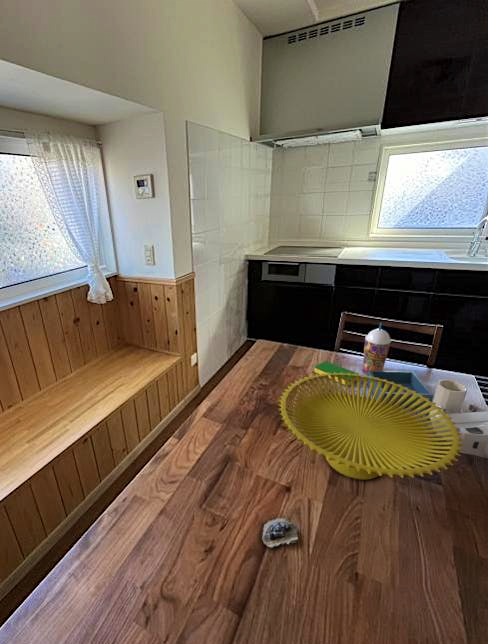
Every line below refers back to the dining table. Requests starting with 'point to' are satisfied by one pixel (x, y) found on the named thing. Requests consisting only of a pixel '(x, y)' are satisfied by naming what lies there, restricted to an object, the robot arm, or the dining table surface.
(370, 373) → the basin
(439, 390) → the cup
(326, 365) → the dish sponge
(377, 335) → the smoothie
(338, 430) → the yellow slatted bowl
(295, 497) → the dining table surface
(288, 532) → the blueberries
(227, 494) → the dining table surface
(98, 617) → the dining table surface
